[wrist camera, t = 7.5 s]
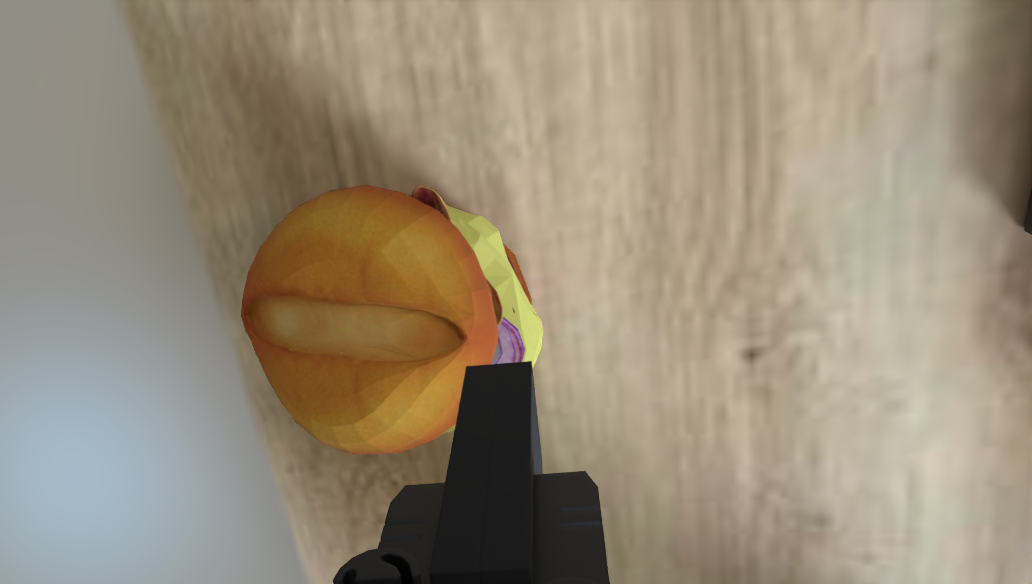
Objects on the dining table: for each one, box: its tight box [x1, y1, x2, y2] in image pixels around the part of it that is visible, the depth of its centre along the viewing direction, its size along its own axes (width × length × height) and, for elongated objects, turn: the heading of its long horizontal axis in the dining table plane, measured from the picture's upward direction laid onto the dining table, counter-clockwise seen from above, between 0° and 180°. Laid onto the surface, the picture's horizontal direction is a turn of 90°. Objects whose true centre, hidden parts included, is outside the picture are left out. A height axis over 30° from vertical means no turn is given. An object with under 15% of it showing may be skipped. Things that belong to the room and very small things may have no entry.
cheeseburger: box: [241, 185, 543, 455], centre depth 29 cm, size 10×11×10 cm
